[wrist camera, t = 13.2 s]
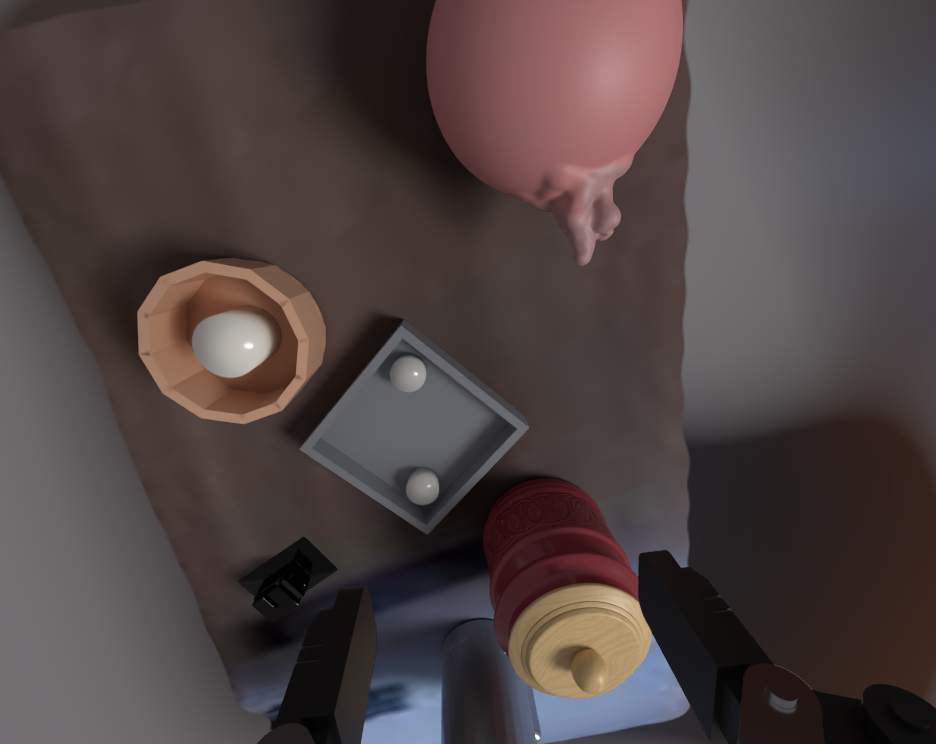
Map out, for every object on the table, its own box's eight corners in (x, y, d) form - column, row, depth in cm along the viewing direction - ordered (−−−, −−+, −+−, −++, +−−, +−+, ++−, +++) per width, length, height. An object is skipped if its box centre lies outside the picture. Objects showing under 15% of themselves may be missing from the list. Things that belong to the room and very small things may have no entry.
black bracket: (311, 520, 46) (298, 550, 41) (356, 563, 48) (348, 597, 43) (225, 580, 47) (203, 615, 43) (272, 620, 49) (256, 657, 45)
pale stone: (293, 330, 38) (271, 343, 33) (261, 371, 39) (236, 389, 34) (243, 293, 37) (214, 301, 32) (212, 336, 38) (179, 350, 33)
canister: (502, 589, 49) (533, 772, 32) (465, 498, 45) (477, 651, 28) (611, 554, 49) (701, 722, 32) (582, 458, 45) (667, 591, 28)
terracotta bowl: (354, 323, 39) (339, 337, 34) (276, 421, 42) (250, 450, 36) (231, 228, 36) (193, 226, 31) (155, 340, 39) (107, 357, 33)
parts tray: (523, 415, 43) (529, 427, 40) (428, 516, 46) (427, 534, 43) (404, 319, 39) (400, 325, 36) (309, 435, 42) (299, 449, 39)
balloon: (459, 275, 38) (468, 299, 24) (411, 8, 32) (385, -181, 18) (628, 244, 38) (742, 248, 24) (612, -29, 32) (752, -249, 18)
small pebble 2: (445, 484, 44) (445, 494, 42) (419, 500, 44) (418, 510, 43) (427, 461, 43) (427, 470, 41) (401, 477, 43) (399, 486, 42)
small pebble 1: (433, 374, 40) (432, 380, 39) (405, 391, 41) (403, 398, 39) (414, 346, 39) (412, 351, 38) (385, 364, 40) (382, 370, 38)
